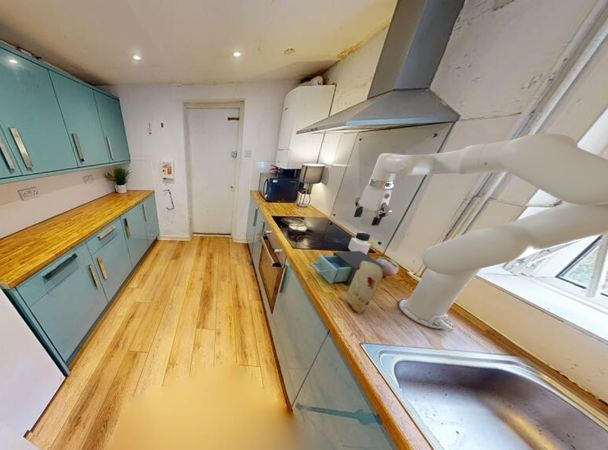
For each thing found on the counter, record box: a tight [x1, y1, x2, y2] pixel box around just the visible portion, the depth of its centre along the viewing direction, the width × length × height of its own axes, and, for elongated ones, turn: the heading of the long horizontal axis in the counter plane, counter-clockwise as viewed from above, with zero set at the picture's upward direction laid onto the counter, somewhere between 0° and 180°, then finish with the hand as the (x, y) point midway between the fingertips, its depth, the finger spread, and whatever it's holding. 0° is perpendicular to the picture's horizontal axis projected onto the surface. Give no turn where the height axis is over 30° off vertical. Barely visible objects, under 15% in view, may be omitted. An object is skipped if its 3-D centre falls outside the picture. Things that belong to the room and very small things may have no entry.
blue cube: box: [331, 263, 341, 269], centre depth 93 cm, size 4×4×4 cm
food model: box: [346, 261, 383, 314], centre depth 74 cm, size 10×7×20 cm
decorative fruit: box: [374, 256, 400, 277], centre depth 95 cm, size 9×8×10 cm
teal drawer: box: [308, 254, 352, 285], centre depth 93 cm, size 19×11×8 cm, turn 97°
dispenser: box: [332, 251, 384, 286], centre depth 94 cm, size 15×13×10 cm
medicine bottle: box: [347, 231, 372, 256], centre depth 114 cm, size 7×7×12 cm
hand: (365, 220), depth 91 cm, fingers open, 9 cm apart
